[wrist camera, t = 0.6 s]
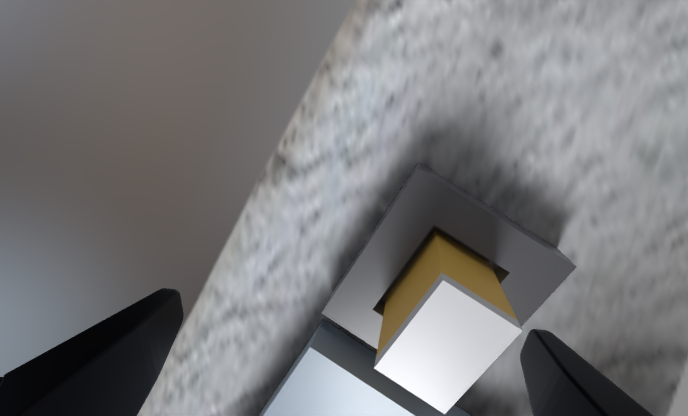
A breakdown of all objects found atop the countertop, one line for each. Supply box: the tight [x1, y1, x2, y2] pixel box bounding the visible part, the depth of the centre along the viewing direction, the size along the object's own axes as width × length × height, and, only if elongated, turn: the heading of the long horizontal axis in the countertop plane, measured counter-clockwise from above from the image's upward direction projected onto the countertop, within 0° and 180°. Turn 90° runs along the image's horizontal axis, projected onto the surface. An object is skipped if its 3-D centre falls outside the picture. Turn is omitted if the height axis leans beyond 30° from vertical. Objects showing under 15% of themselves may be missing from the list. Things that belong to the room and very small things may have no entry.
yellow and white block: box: [374, 229, 523, 414], centre depth 17 cm, size 4×5×6 cm
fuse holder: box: [322, 162, 576, 349], centre depth 20 cm, size 9×10×2 cm
